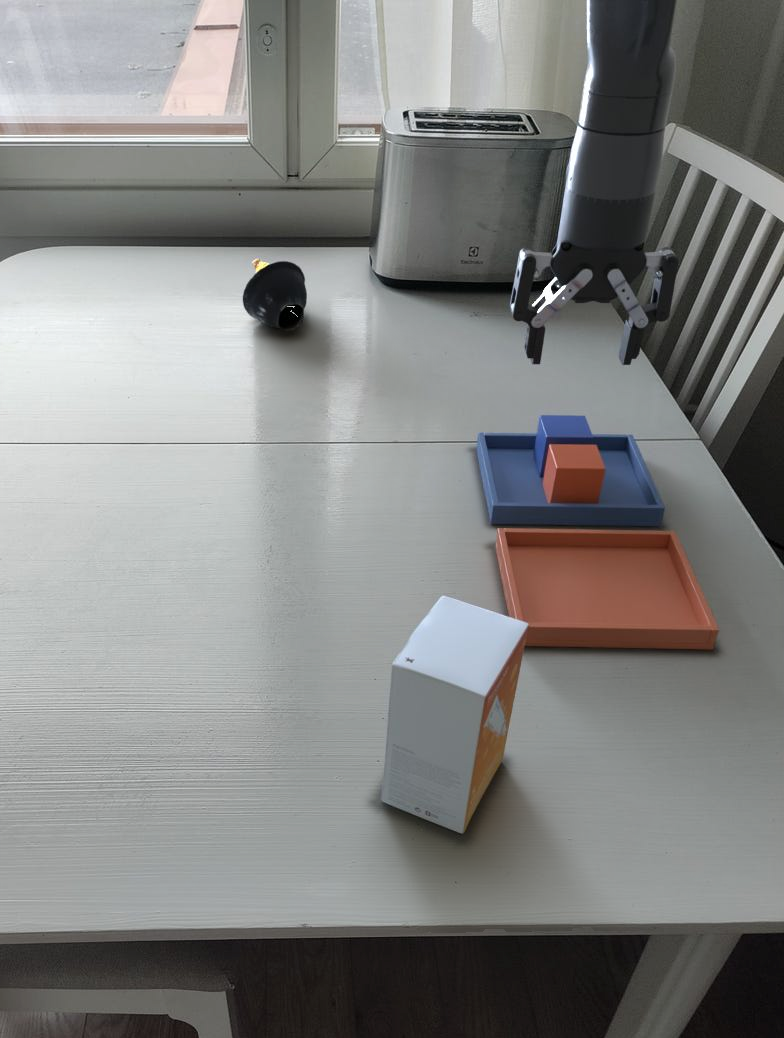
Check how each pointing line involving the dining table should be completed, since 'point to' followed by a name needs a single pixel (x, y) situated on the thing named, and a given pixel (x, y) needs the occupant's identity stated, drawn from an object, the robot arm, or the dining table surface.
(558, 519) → the blue tray
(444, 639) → the small box
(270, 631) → the dining table surface
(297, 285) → the fried shrimp in bowl
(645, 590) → the clay tray
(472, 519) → the dining table surface
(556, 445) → the clay block
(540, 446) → the blue block
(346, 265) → the dining table surface
